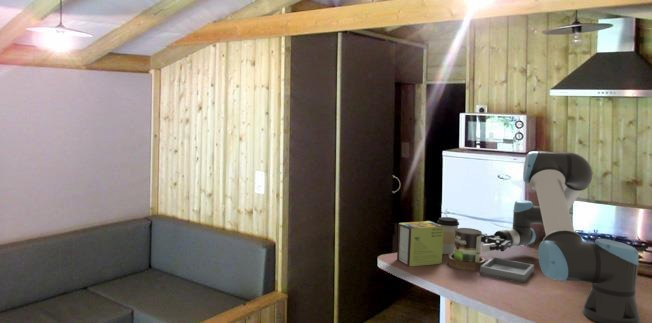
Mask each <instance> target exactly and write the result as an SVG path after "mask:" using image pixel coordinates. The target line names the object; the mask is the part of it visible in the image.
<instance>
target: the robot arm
mask: <svg viewBox="0 0 652 323" xmlns="http://www.w3.org/2000/svg"><path fill="white" fill-rule="evenodd" d="M523 166H524V167H523V173H522V174H523V176H522V178H523V180H522V181H523V182H524V183H527V184H530V187H531V189H532V190H534V191H535V192H536V196H537V200H538V204H539V205H534V203H533V202H532V201H531V200H524V199H519V200H516V201H514V205H513V210H512V212H513V213H512V214H513V217H512V219H513V220H512V228H508V229H503V230H497V231H495V233H493V234H487V233H482V234H481V243H483V244H482V245H481V247H482V250H481V252H483V253H485V252H493V251H499V250H500V251H501V252H505V251H506V249H511V248H513V247H519V246H520V247H521V246H527V245H531V244H533V243H534V242H535V240H536V238H537V237H536V236H537V235H536V232H535V230H534V228H532V224H535V225H536V224H537V225H543V229H544V233H545V236H544V237H543V239H542V241H541V242H540V243H539V246H538V252H537V254H538V256H537V257H538V263H539V267H540V269H541V272H542V274H543V275H544V276H545V277H546V278H548V279H550V280H555V281H559V282H566V281H567V282H579V283H590V284H591V287H590V291H589V292H588V295H587V297H586V299H585V300H584V303H583V305H582V314H583V315H584V317H587V318H588V319H590V320H592V321H595V322H597V323H640V321H641V315H640V311H639V310H640V309H639V306H638V303H637V298H636V292H637V281H638V280H637V279H638V272H639V271H638V270H639V266H640V262H639V251H638V250H637V248H635V247H634V246H631V245H629V244H627V243H623V242H619V241H616V240H611V239H606V238H596V239H595V241H594V243H584V242H583V239H582V235H581V234H579V233H578V232H576V231H575V229H574V225H573V221H572V217H571V214H570V209H571V208H572V206H573V205H574V203H575V202H576V200H577V199H578V197H579V196H580V194H581V192H582V191H585V190H586V189H587V188H588V187H589V186H590V184H591V183H592V180H593V169H592V166H591V165H590V163H589V162H588V160H587V159H585V158H584V157H583V156H581V155H580V154H577V153H574V152H562V151H561V152H560V151H546V150H545V151H544V150H543V151H541V150H538V151H537V150H536V151H535V150H533V151H529V152H528V153H527V154H526V157H525V160H524V165H523Z"/></svg>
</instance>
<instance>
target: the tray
mask: <svg viewBox="0 0 652 323" xmlns="http://www.w3.org/2000/svg"><path fill="white" fill-rule="evenodd" d="M534 271H535V264H532V263H526V262H522V261H517V260H510V259H504V258H499V257H493V256H492V257H490V258H489V259H488V260H487V261H486V263H484V264H483V265H482V266H480V270H479V274H480V275H482V276H487V275H488V277H492V276H493V278H497V277H498V278H497V279H502V280H507V281H511V280H512V282H516V283H517V282H518V283H522V284H525V282H527V280H528V279H529V278H530V277H531V276H532V275H533V274H534Z"/></svg>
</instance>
